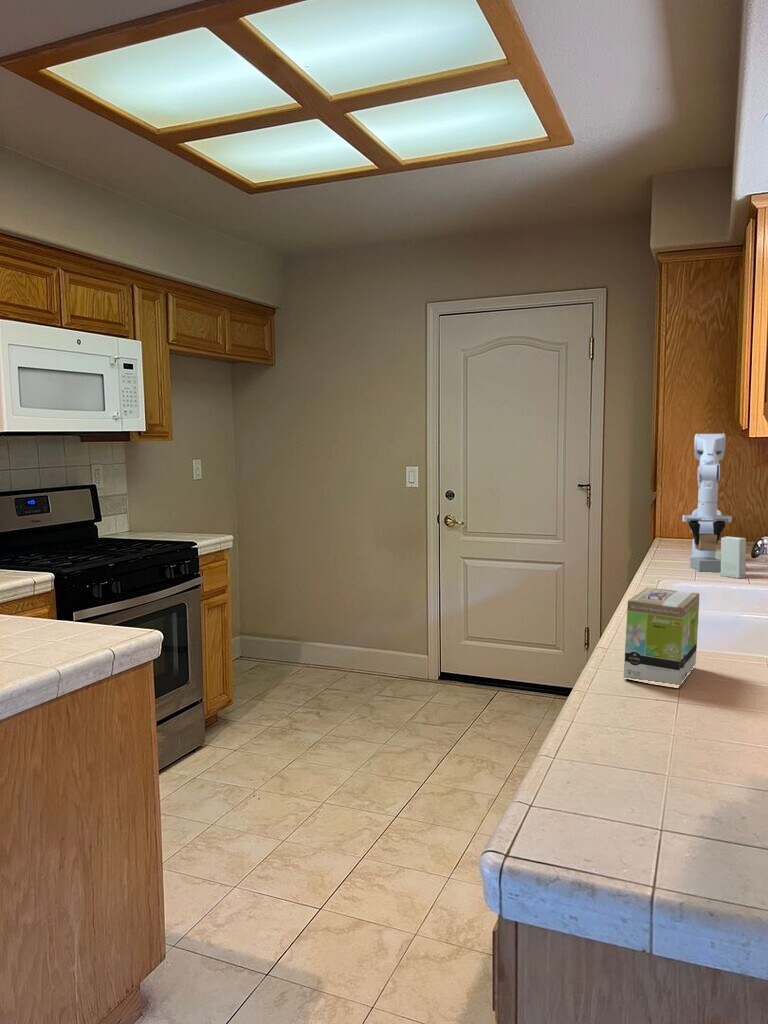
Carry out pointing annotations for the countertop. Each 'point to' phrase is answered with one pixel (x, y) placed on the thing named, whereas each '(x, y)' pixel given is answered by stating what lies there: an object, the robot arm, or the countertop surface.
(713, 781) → the countertop surface
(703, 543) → the walnut cube
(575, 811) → the countertop surface
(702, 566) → the slate block
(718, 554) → the sage cube
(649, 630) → the tea box
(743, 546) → the skincare box
